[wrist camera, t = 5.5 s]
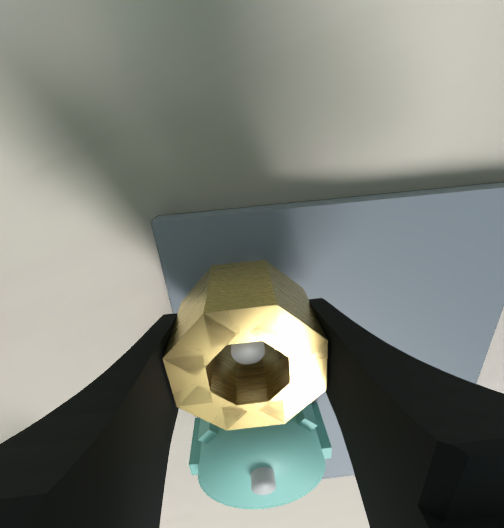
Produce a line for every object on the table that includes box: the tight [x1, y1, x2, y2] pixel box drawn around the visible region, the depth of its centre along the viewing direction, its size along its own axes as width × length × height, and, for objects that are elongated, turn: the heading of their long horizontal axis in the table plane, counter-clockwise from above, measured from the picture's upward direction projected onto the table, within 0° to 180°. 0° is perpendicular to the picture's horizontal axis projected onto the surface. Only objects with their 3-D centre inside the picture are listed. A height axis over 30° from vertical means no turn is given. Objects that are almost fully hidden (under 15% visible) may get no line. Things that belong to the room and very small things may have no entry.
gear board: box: [151, 182, 504, 509], centre depth 14 cm, size 17×20×5 cm
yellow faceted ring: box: [163, 260, 328, 431], centre depth 10 cm, size 5×5×3 cm
